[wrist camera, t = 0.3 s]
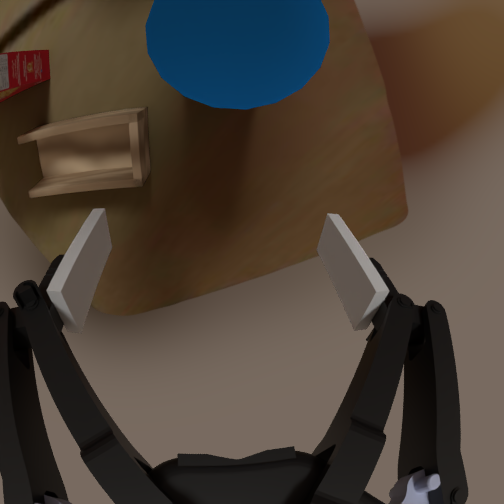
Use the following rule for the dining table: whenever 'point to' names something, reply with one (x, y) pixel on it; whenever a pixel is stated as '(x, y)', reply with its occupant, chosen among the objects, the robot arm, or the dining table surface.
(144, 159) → the u rest
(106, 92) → the dining table surface
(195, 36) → the thermos
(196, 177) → the dining table surface
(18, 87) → the food packaging
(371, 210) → the dining table surface
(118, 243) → the dining table surface
